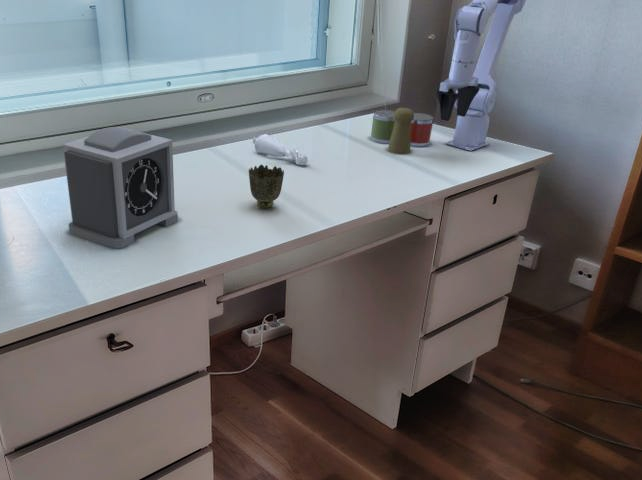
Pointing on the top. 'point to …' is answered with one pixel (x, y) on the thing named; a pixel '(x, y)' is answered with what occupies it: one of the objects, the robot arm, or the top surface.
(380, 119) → the green tin
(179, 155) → the top surface
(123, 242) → the alarm clock
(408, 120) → the cork
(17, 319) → the top surface
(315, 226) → the top surface
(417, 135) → the red tin
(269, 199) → the cup
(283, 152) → the woman figurine
